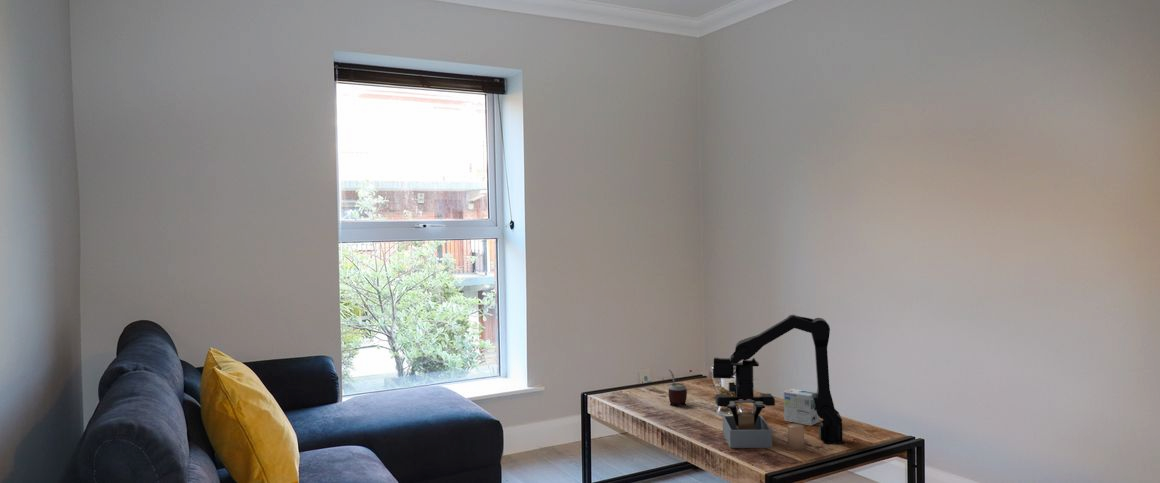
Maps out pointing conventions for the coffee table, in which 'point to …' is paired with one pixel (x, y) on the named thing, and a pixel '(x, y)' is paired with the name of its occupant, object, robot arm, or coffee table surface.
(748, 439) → the box
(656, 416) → the coffee table surface
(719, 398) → the robot arm
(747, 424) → the walnut cube
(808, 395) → the light bulb box
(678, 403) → the mate gourd
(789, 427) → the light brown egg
